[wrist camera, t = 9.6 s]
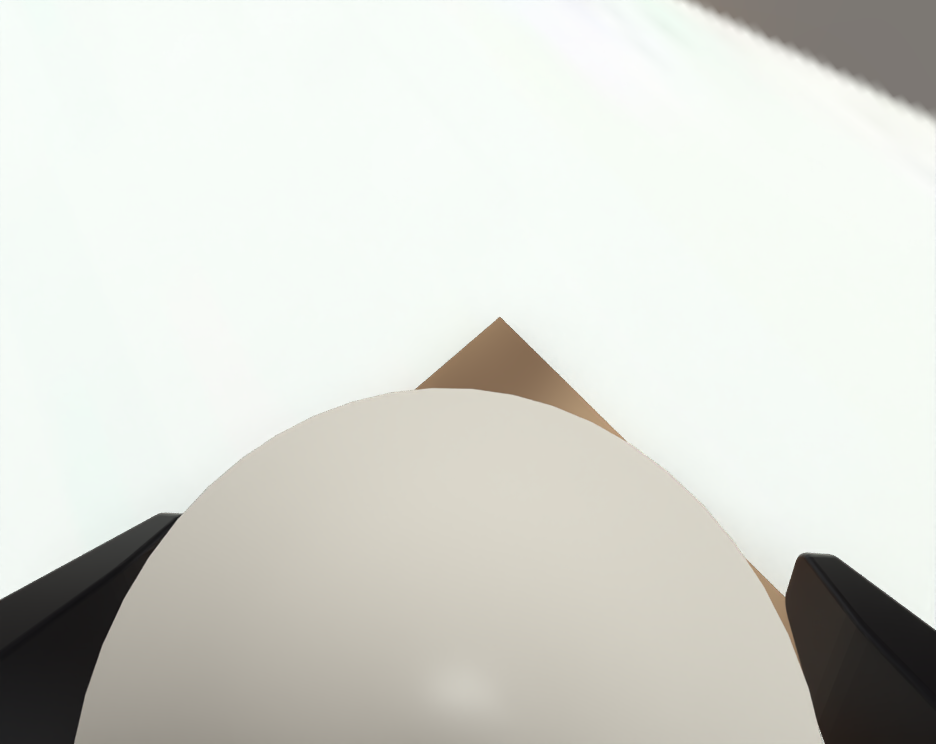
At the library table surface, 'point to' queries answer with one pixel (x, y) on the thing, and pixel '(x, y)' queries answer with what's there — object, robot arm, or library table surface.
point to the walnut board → (534, 394)
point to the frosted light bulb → (447, 595)
